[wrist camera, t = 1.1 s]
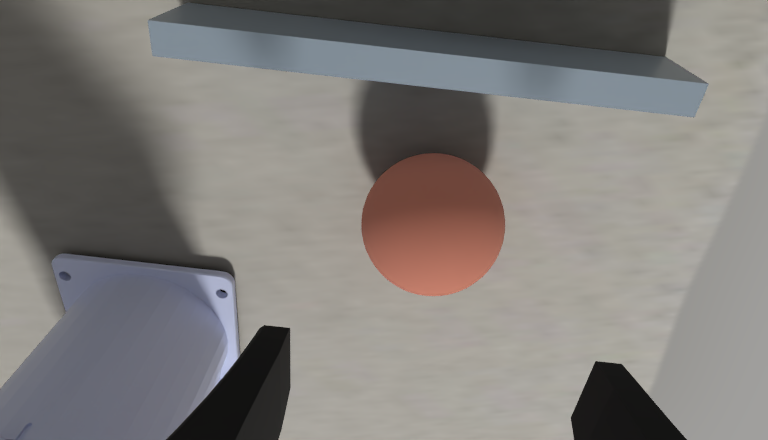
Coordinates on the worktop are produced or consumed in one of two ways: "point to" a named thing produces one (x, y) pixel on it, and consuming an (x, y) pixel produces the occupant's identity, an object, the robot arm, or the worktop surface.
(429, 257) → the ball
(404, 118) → the worktop surface
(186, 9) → the low wall
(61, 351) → the robot arm
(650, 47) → the worktop surface
